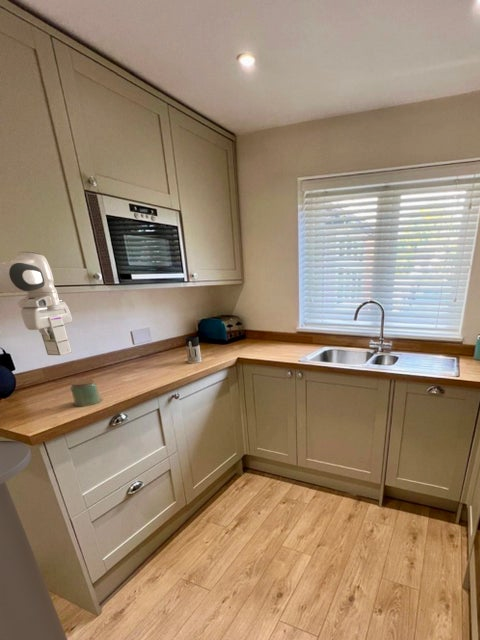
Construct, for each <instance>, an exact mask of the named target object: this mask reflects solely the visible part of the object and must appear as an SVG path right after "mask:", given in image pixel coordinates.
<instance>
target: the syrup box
mask: <svg viewBox="0 0 480 640" xmlns="http://www.w3.org/2000/svg"><path fill="white" fill-rule="evenodd" d="M48 319H49V323H50V327H48V328H47V330H48V331H47V332H48V334H49V335H51V337H52V339H51V340H45V339H44V336H43V335H42V334H41V333H40V335H41V338H42V341H43V344H44V347H45V351H46V354H47V356H64V355H68V354H72V348H71V345H70V342H69V337H68V334H67V331H66V326H65V327H64V323H63V319H62V316H51V317H48Z"/></svg>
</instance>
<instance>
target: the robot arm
mask: <svg viewBox="0 0 480 640" xmlns="http://www.w3.org/2000/svg"><path fill="white" fill-rule="evenodd" d="M54 281H55V280H54V276H53V271H52V268H51V266H50V264H49V262H48V260H47V258H46V257H45V255H43V254H41V253H37V252H34V251H33V252H32V251H20V252H18V253H17V256H16V257H14V258H12V259H10V260H8V261H0V294H9V293H11V294H13V293H15V294H16V293H26V296H25V297H24V298H22V299H20V300H19V301H17V304H18V305H17V306H18V307H19V308H20V309H21V311H20V313H21V317H22V321H23V323H24V326H25V328H26V329H28V330H29V331H37V330H38V331H39V334H40V335H41V334H42V335H43V336H44V339H45V340H51V339H52V337H51V335H49V334H48V332H47V331H48V330H47V328H48V327H50V323H49V319H48V317H51V316H62V319H63V323H64V327H65V328H66V324H70V323H71V324H72V323H73V316H72V314H71V313H72V312H71V311H70V308H69V305H68V304H66V302H65V301H64V300H63V299H62V298H60V297H59V294H58V290H57V288H56V287H55V284H54ZM42 335H41V336H42Z"/></svg>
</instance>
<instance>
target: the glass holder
mask: <svg viewBox="0 0 480 640" xmlns="http://www.w3.org/2000/svg"><path fill="white" fill-rule="evenodd" d="M184 340H185V350H186V356H187V363H188V364H198V363H199V364H200V363H202V362H203V360H202V355H201V347H200V341H199V336H194V335H192V336H185V337H184Z"/></svg>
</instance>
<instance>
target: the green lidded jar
mask: <svg viewBox="0 0 480 640" xmlns="http://www.w3.org/2000/svg"><path fill="white" fill-rule="evenodd" d="M69 388H70V392H71V395H72V399H73V403H74V405H75V406H76V407H86V406H92V405H95V404H98V403H100V402H101V397H100V393H99V389H98V385H97V383H96V382H95V380H94V379H93V378H85V379H78V380H75V381H72V382H71V383H70V387H69Z"/></svg>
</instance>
